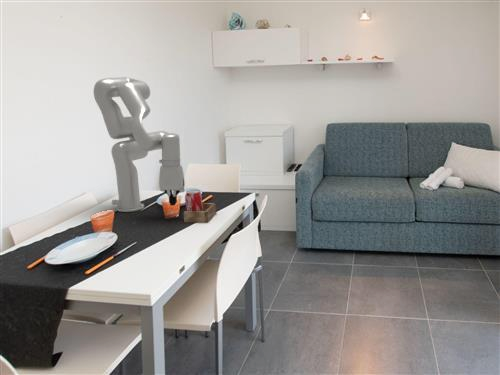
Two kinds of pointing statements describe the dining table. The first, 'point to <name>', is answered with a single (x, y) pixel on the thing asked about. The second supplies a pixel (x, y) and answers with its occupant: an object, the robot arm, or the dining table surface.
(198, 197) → the soda can
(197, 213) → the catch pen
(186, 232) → the dining table surface
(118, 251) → the dining table surface
